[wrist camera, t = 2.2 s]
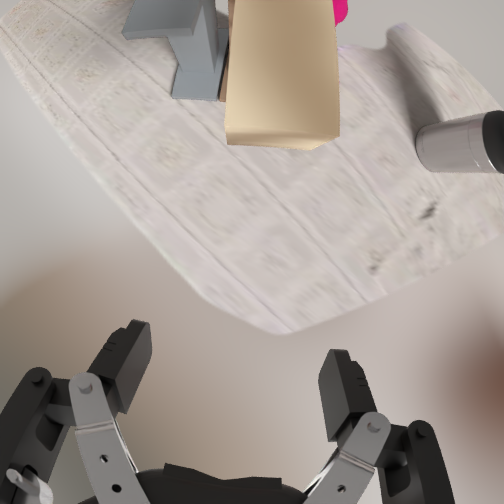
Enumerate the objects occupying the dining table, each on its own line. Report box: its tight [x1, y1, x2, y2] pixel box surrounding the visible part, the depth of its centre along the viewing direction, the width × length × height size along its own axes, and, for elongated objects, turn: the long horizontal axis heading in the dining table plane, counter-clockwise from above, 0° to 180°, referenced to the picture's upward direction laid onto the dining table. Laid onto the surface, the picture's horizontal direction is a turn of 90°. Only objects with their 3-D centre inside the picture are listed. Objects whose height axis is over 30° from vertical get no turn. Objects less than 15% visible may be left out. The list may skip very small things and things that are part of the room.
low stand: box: [122, 0, 229, 101], centre depth 24 cm, size 7×16×23 cm, turn 172°
